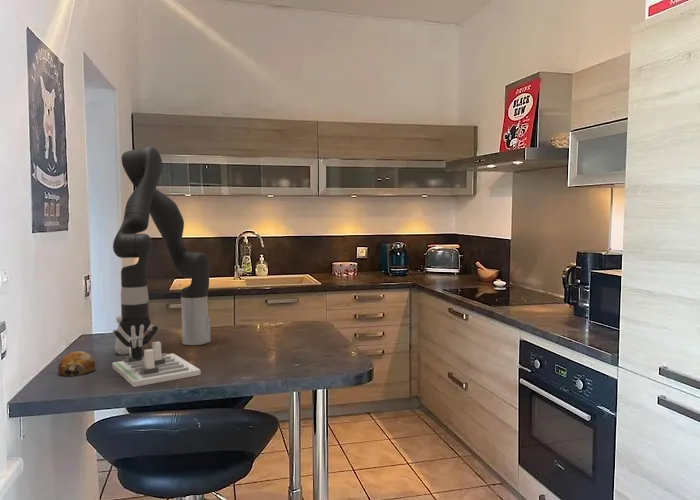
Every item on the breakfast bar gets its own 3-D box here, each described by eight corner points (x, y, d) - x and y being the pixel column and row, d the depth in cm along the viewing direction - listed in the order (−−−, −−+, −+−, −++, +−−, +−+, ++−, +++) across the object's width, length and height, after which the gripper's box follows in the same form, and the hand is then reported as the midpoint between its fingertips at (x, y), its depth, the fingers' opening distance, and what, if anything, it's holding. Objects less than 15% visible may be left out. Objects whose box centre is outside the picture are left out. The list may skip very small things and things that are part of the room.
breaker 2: (155, 371, 162) (154, 348, 162) (158, 374, 160) (157, 350, 159) (141, 374, 160) (140, 350, 159) (144, 376, 158) (143, 352, 157)
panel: (173, 357, 184) (173, 350, 184) (200, 374, 165) (200, 367, 165) (112, 367, 173) (112, 360, 173) (133, 386, 154) (133, 378, 153)
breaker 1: (139, 360, 175) (138, 338, 175) (142, 362, 173) (141, 339, 172) (126, 362, 173) (125, 339, 172) (128, 364, 170) (128, 341, 170)
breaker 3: (162, 363, 171) (161, 340, 171) (165, 365, 169) (164, 342, 168) (148, 365, 169) (148, 342, 169) (151, 367, 167) (151, 344, 166)
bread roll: (98, 382, 170) (106, 356, 173) (74, 376, 161) (82, 349, 164) (73, 379, 174) (80, 353, 176) (47, 373, 165) (56, 346, 167)
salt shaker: (126, 355, 187) (125, 317, 186) (111, 355, 188) (110, 316, 187) (136, 351, 193) (135, 314, 192) (121, 350, 194) (120, 313, 193)
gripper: (153, 297, 171) (155, 353, 172) (107, 302, 163) (109, 360, 165) (161, 300, 165) (163, 358, 166) (114, 305, 157) (116, 366, 159)
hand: (136, 359), depth 165 cm, fingers closed
